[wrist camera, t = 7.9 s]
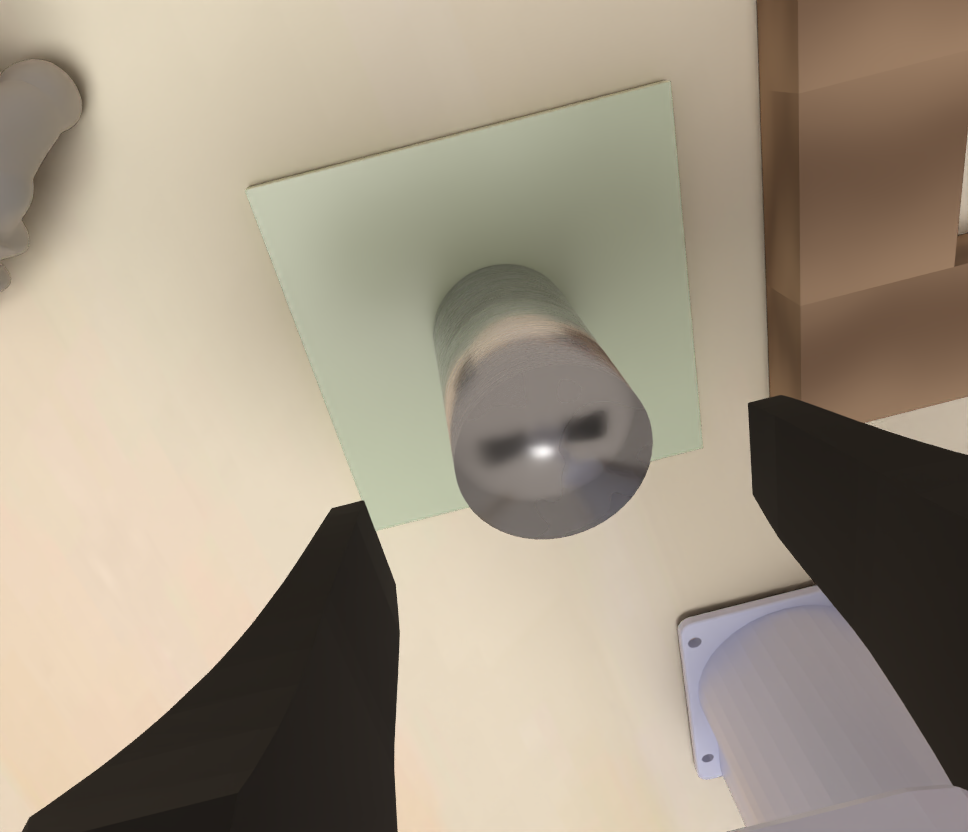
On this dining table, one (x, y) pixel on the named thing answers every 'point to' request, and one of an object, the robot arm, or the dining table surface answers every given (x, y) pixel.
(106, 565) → the dining table surface
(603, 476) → the metal peg
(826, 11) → the walnut holder
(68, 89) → the elephant statuette
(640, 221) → the sage pad
